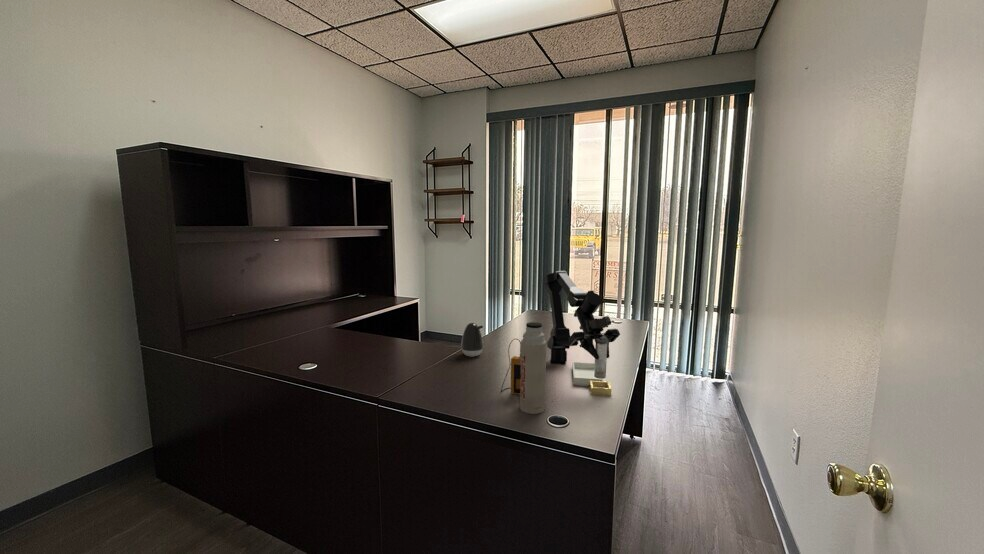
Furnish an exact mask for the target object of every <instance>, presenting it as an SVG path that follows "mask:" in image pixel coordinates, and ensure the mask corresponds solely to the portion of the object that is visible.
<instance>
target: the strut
mask: <svg viewBox="0 0 984 554" xmlns="http://www.w3.org/2000/svg"><path fill="white" fill-rule="evenodd" d="M594 342H595V345H594V347H595V349H596V352H597V354H598V357H599V359H598V360H597V359H595V358H594V363H595V368H594V377H596V378H599V379H602V380H603V379H606V377H607V359H608V358H607V343H608V338H606V337H595V340H594Z"/></svg>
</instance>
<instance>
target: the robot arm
mask: <svg viewBox="0 0 984 554" xmlns="http://www.w3.org/2000/svg"><path fill="white" fill-rule="evenodd" d="M542 283H543V286H544V290H545V291H546V292H547V293H548V296H549V303H550V312H551V319H552V328H551V330H550V337H549V339H548V340H547V341H546V348H548V349H550V364H556V365H557V364H560V365H566V362H567V361H568V353H567V352H568V351H567V350H568V349H570V348H571V347H577V346H578V344H579V343H580V344H579V347H580V348H582V349H583V350H585V351H586V352H588V353H589V354H590V355H591V356H592V357H593V358H594V360H595V359H597V360H598V359H599V357H598V354H597V352H596V349H595V345H594V341H595V337H606V338H608V343H607V359H609V358H610V348H609V347H610V343H614V342H615V341H616V340H617V339H618V338H619V336H621V333H620V331H619V329H618V328H608V327H609V326H610V325H612V319H611V318H610V316H609V315H606V316H605V315H604V316H603V317H601V318H595V317H594V314H595V313H596V312H597V310H598V309H599V307H600V306H601V305H602V304H603V298H602V297H601V296H600V295H599V294H598V293H596V292H595V291H594V290H587V291H585V290H584V289H583V288H580V287H578V286H577V285H576V284H575V282H574V281H573V280H572V279H571V278H570V276H569V275H568V272H567V271H566V270H556V271H554V272H551V273H547V274H545V276H543V278H542ZM562 290H563V291H564V292H565V294H566V296H567V297H566V298H567V299H566V300H567V303H568V304H569V306H570V307H572V308H576V309H575V310H574V313H573V317H575V318H577V320H578V322H579V324H580V326H579V330H582V331H573V332H572V333H571V332H570V328H568V327H566V324H565V320H564V312H563V305H562V304H563V303H562V297H561V296H562V295H561V291H562ZM605 328H608V329H606V330H605V332H603V331H604V329H605ZM601 332H603V333H601ZM566 349H567V350H566Z"/></svg>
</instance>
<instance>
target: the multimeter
mask: <svg viewBox="0 0 984 554" xmlns="http://www.w3.org/2000/svg"><path fill="white" fill-rule="evenodd" d="M514 340H517V341H519V343H520V345H519V346H520V348H519V349H520V350H519V356H518V355H517V356H516V355H514V356H512V357H511V358H510V356H508V361H509V363H510V366H509V367H508V369H507V372H506V375H505V377H504V380H503V383H502V385H501V388H500V392H503V391H505V390H508V389H510V394H511V395H519V396H520V380H521V340H520V339H518V338H513V339H512V340H511V341H510V343H509V345H508V349H507V350H508V351H507V352H508V354H510V347H511V344H512V343H513V342H514ZM509 371H510V387H507V388H504V389H503V387H504V384H505V381H506V378H507V376H508V373H509Z"/></svg>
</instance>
